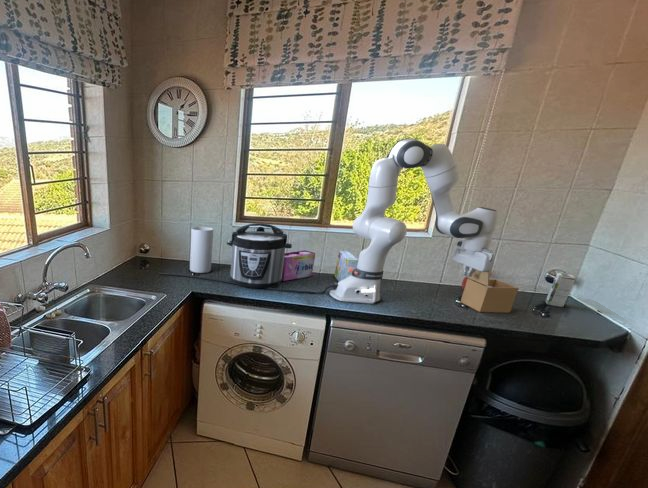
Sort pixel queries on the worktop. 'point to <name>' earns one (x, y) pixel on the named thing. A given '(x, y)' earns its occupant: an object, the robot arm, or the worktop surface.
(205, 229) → the cylinder vase
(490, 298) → the open cardboard box
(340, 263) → the snack box
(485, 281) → the flap
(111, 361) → the worktop surface
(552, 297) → the syrup box
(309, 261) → the gum box
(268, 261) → the pressure cooker
